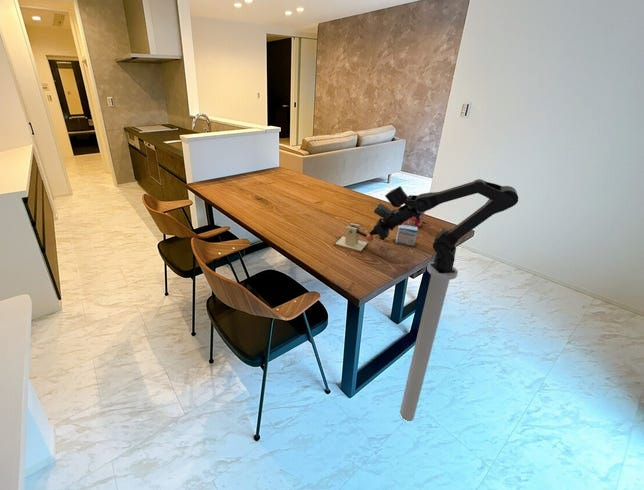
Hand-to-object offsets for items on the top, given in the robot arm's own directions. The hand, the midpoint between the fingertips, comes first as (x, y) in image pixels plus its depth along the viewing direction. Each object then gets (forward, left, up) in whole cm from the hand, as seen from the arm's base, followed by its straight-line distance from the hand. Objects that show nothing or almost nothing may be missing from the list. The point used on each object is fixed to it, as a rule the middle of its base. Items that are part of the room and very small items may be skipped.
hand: (370, 233), depth 129 cm
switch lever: (+3, +3, -2) cm, 5 cm away
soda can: (+22, -33, -8) cm, 40 cm away
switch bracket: (+5, +6, -8) cm, 11 cm away
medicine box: (+4, -19, -8) cm, 21 cm away
